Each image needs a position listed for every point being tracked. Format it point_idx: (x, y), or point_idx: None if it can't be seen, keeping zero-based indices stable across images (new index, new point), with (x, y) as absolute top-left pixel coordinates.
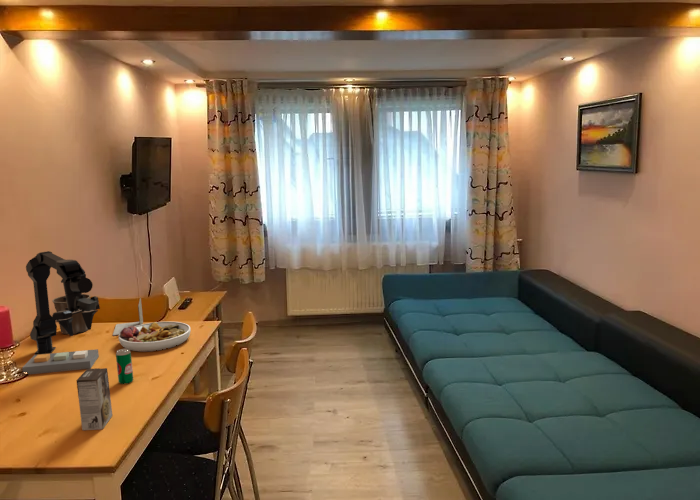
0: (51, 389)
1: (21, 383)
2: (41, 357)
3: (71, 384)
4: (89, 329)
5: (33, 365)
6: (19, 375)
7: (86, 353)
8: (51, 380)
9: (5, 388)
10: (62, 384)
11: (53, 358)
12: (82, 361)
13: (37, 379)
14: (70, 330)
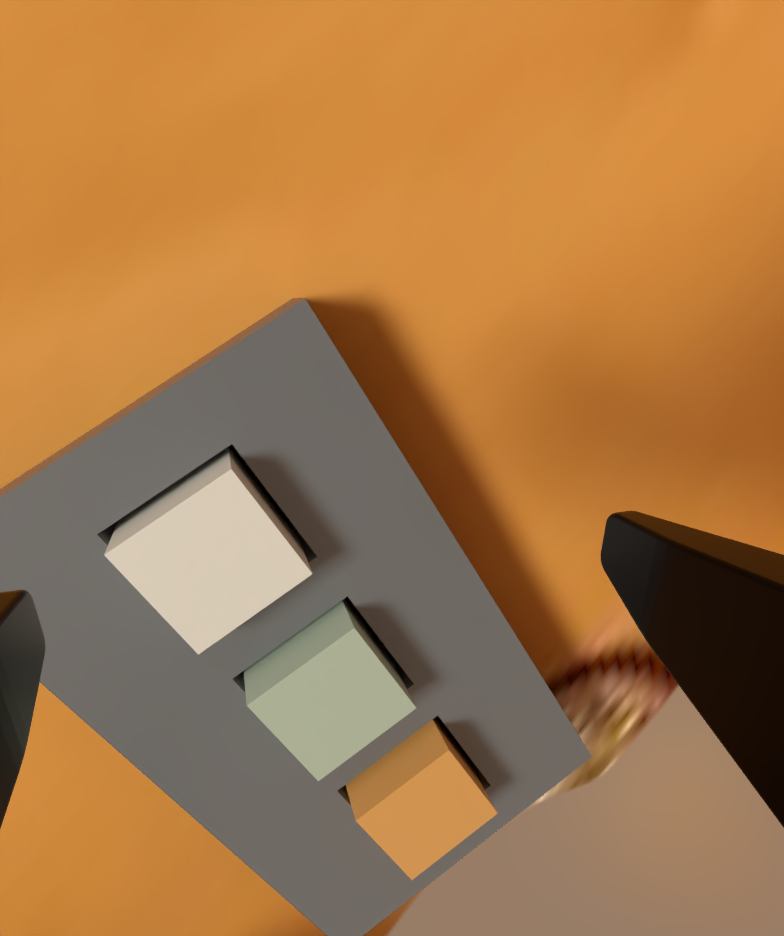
0: (741, 263)
1: None
2: (459, 787)
3: (645, 169)
4: (34, 607)
5: (541, 723)
6: None
7: (164, 508)
8: (602, 423)
9: None
10: (654, 255)
11: None
12: (340, 382)
13: None
14: (767, 562)
